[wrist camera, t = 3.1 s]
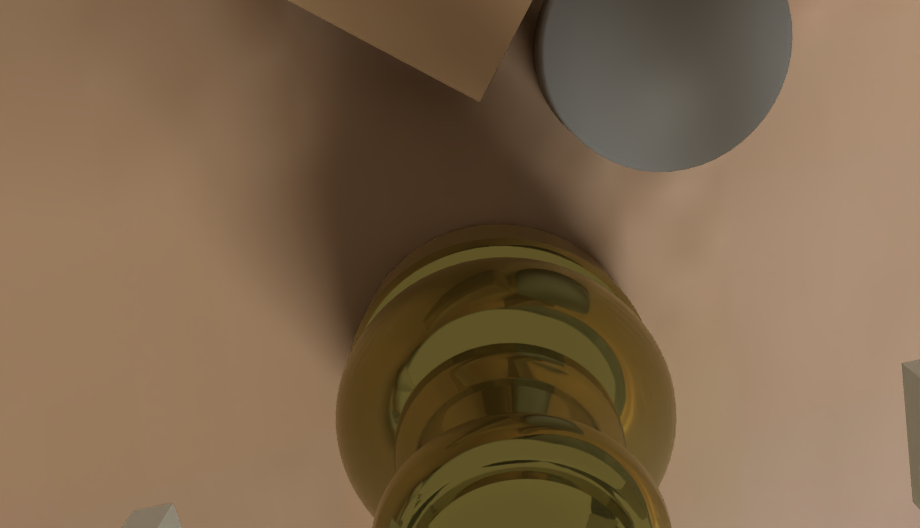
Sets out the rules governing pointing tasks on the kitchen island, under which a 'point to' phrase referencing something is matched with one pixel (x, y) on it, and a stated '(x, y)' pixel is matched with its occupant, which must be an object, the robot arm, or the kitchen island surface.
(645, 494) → the yellow-green tapered rounded piece
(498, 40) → the long rectangular block
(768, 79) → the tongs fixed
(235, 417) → the kitchen island surface
